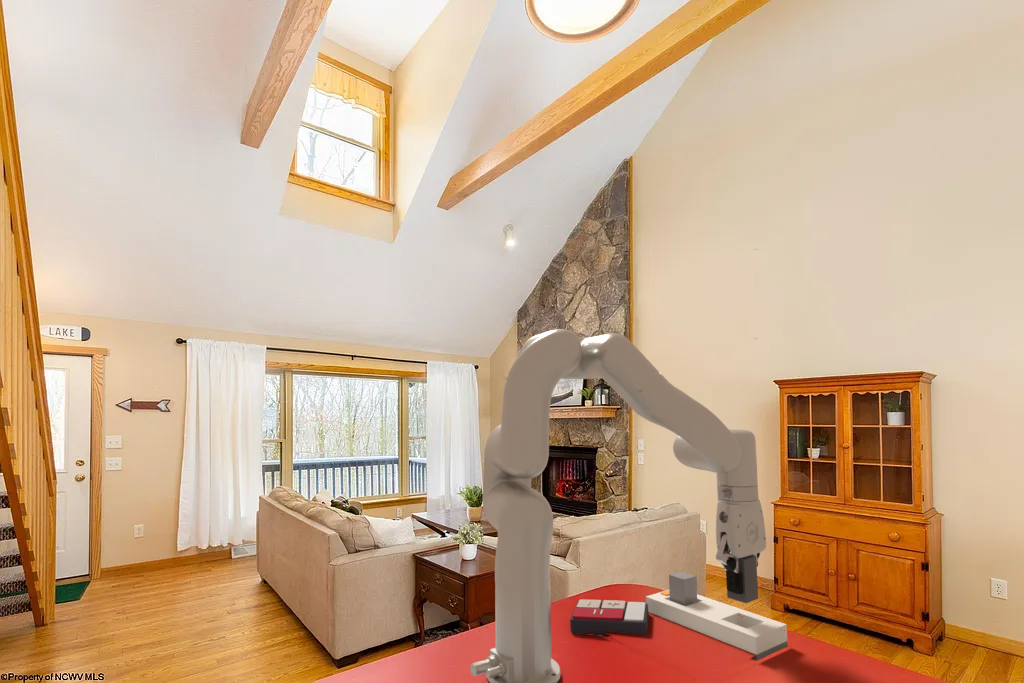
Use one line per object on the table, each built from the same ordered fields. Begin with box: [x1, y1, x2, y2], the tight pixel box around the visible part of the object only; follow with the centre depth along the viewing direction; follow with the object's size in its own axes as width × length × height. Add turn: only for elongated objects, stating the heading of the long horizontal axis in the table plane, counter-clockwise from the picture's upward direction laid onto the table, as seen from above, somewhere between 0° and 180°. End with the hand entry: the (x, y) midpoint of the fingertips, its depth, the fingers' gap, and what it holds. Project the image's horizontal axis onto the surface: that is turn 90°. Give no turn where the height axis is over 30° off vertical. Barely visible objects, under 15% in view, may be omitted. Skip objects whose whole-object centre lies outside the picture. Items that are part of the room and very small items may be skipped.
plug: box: [726, 552, 759, 604], centre depth 114 cm, size 4×4×8 cm
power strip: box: [645, 589, 788, 661], centre depth 118 cm, size 10×26×4 cm, turn 35°
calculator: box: [569, 598, 650, 637], centre depth 121 cm, size 11×4×15 cm
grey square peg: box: [668, 571, 698, 606], centre depth 124 cm, size 4×4×8 cm
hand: (742, 588), depth 113 cm, fingers closed on plug, 4 cm apart
